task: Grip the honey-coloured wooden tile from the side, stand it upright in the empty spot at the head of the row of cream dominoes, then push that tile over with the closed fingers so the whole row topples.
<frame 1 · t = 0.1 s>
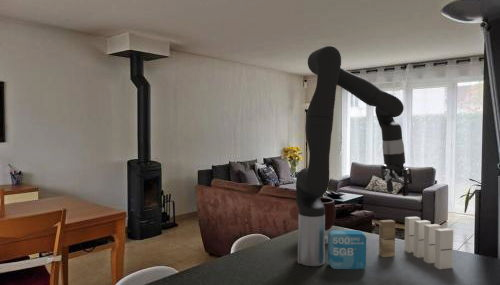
hand: (397, 193, 142), 22 cm above the table, tool pointing down, fingers open, 8 cm apart
data package: (346, 267, 128), on the table
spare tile: (386, 255, 139), on the table
tile 2: (412, 251, 143), on the table
mate gourd: (316, 240, 158), on the table
tile 3: (421, 256, 138), on the table
end tile: (443, 267, 127), on the table
tile 4: (432, 261, 133), on the table
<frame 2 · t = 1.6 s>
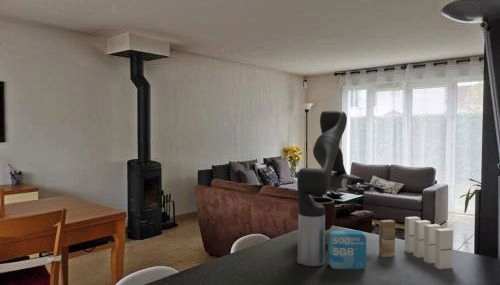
hand: (373, 191, 147), 22 cm above the table, tool horizontal, fingers open, 8 cm apart
nothing on the table moved.
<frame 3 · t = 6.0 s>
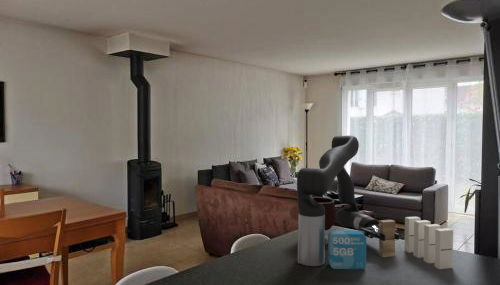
hand: (391, 237, 136), 8 cm above the table, tool horizontal, fingers closed on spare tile, 5 cm apart
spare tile: (386, 255, 139), on the table, touching gripper
everything else where it was.
when the fingers open (9 cm above the table, at t = 13.1 s): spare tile drops 1 cm, on the table.
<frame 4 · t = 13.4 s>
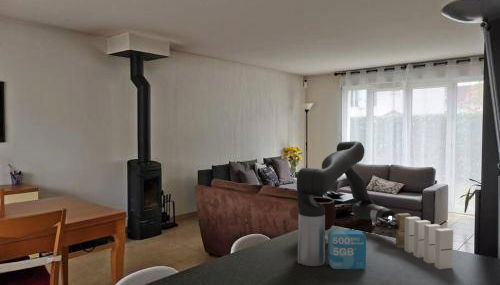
hand: (406, 226, 146), 9 cm above the table, tool horizontal, fingers open, 7 cm apart
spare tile: (402, 246, 149), on the table
everything else where it was.
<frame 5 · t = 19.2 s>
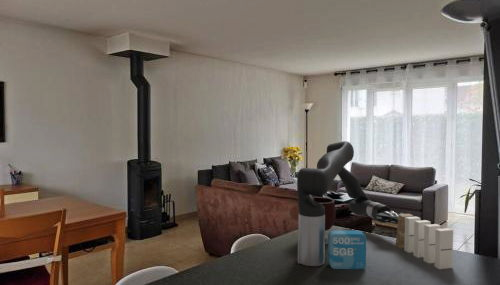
hand: (403, 221, 148), 10 cm above the table, tool horizontal, fingers closed
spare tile: (402, 246, 149), on the table, tilted 7°
everything else where it was.
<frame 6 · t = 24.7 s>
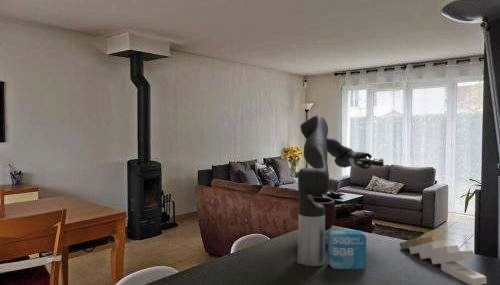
hand: (381, 164, 156), 32 cm above the table, tool horizontal, fingers closed
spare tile: (405, 245, 146), point 1 cm above the table, tilted 64°, touching tile 2
tile 2: (415, 250, 141), point 1 cm above the table, tilted 63°, touching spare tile, tile 3
tile 3: (425, 255, 136), point 1 cm above the table, tilted 63°, touching tile 2, tile 4
end tile: (447, 265, 126), point 1 cm above the table, tilted 90°, touching tile 4
tile 4: (437, 260, 130), point 1 cm above the table, tilted 64°, touching end tile, tile 3
everything else where it was.
at the end: end tile tilted 90°; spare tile 2.2 cm from the target spot, point 1.1 cm above the table; the gripper is holding nothing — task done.
